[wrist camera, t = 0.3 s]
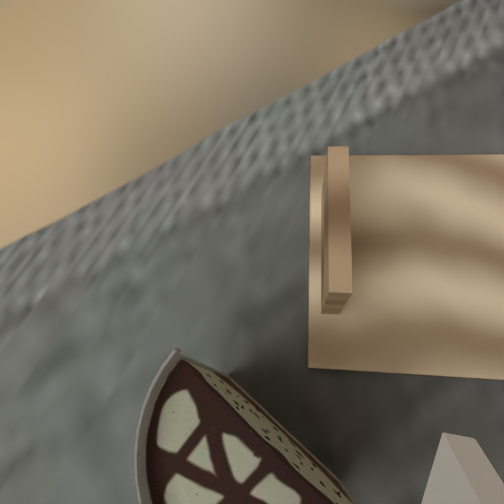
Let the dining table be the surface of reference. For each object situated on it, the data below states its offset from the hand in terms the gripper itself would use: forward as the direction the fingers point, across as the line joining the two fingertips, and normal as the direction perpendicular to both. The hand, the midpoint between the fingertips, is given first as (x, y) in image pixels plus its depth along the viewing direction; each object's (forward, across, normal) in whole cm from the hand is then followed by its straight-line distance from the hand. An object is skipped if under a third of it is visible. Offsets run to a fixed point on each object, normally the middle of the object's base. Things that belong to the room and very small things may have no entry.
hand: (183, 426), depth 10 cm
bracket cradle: (+19, -13, -2) cm, 23 cm away
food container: (+11, -2, +11) cm, 16 cm away
